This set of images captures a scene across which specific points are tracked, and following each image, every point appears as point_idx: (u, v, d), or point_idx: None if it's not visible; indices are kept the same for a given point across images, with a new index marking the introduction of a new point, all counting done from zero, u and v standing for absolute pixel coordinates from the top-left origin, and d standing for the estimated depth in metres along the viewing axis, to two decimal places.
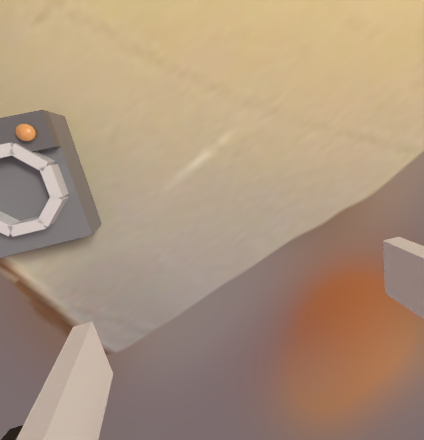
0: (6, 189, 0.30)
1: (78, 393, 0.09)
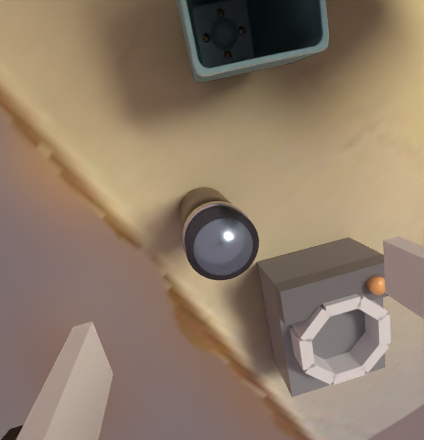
0: (321, 331, 0.28)
1: (78, 393, 0.09)
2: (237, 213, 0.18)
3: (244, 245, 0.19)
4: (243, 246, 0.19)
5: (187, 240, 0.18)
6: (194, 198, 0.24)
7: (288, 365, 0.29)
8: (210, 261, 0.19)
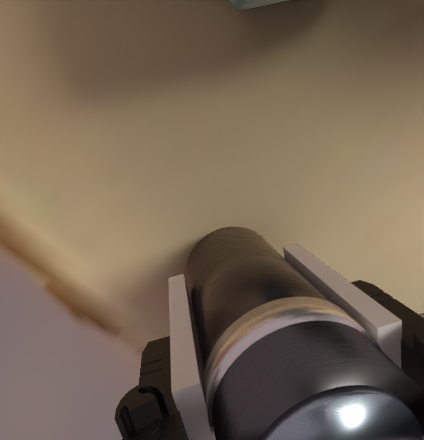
0: None
1: (192, 320, 0.11)
2: (386, 369, 0.06)
3: None
4: None
5: None
6: (222, 262, 0.11)
7: None
8: None
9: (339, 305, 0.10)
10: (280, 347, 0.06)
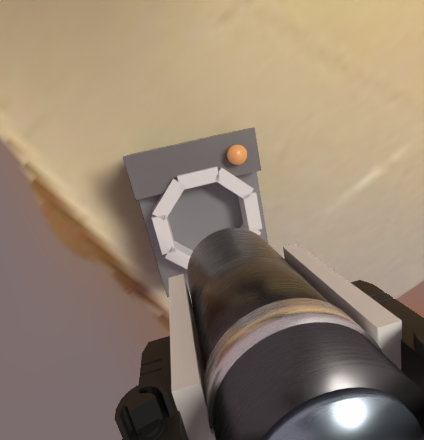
0: (190, 219, 0.26)
1: (192, 320, 0.11)
2: (387, 372, 0.06)
3: None
4: None
5: None
6: (222, 263, 0.11)
7: (157, 258, 0.26)
8: None
9: (339, 305, 0.10)
10: (280, 349, 0.06)
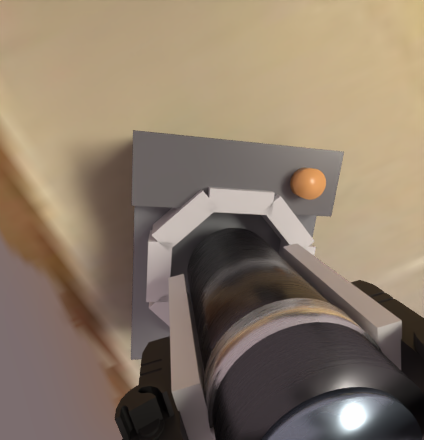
0: None
1: (192, 320, 0.11)
2: (386, 372, 0.06)
3: None
4: None
5: None
6: (223, 263, 0.11)
7: (134, 299, 0.17)
8: None
9: (339, 305, 0.10)
10: (281, 349, 0.06)
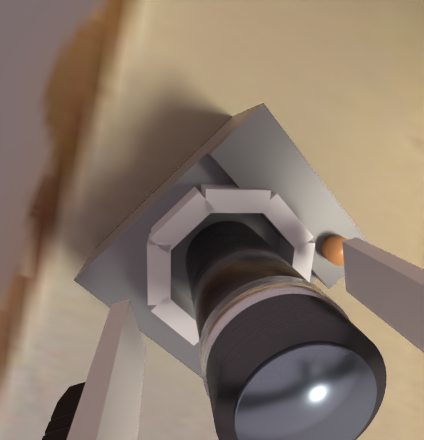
0: None
1: (125, 358, 0.10)
2: (345, 328, 0.07)
3: (357, 401, 0.08)
4: (354, 404, 0.08)
5: (219, 400, 0.07)
6: (217, 251, 0.13)
7: (128, 230, 0.16)
8: None
9: None
10: (261, 313, 0.08)
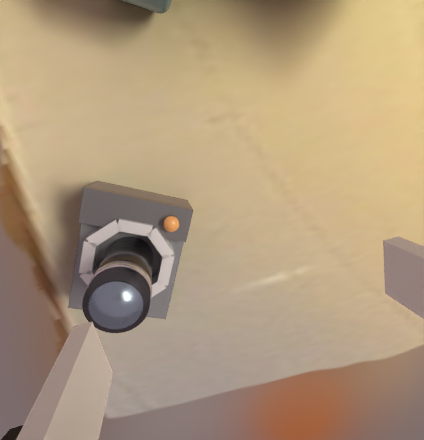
0: None
1: (78, 393, 0.09)
2: (108, 276, 0.21)
3: (131, 294, 0.21)
4: (130, 295, 0.21)
5: (86, 317, 0.21)
6: None
7: (75, 272, 0.30)
8: (114, 321, 0.22)
9: None
10: (89, 284, 0.22)
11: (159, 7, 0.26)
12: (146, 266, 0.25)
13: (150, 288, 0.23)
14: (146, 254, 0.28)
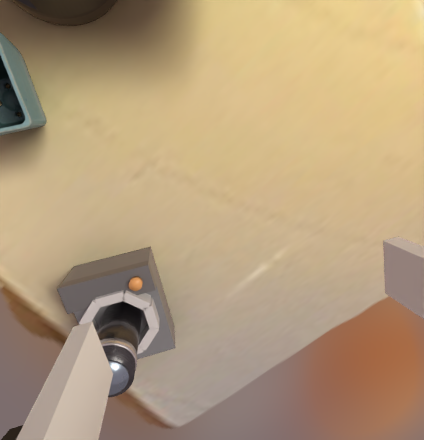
0: None
1: (78, 393, 0.09)
2: None
3: (113, 367, 0.27)
4: (113, 368, 0.27)
5: None
6: None
7: None
8: (112, 388, 0.28)
9: None
10: None
11: None
12: (125, 331, 0.31)
13: (130, 351, 0.29)
14: (127, 316, 0.34)
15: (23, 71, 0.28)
